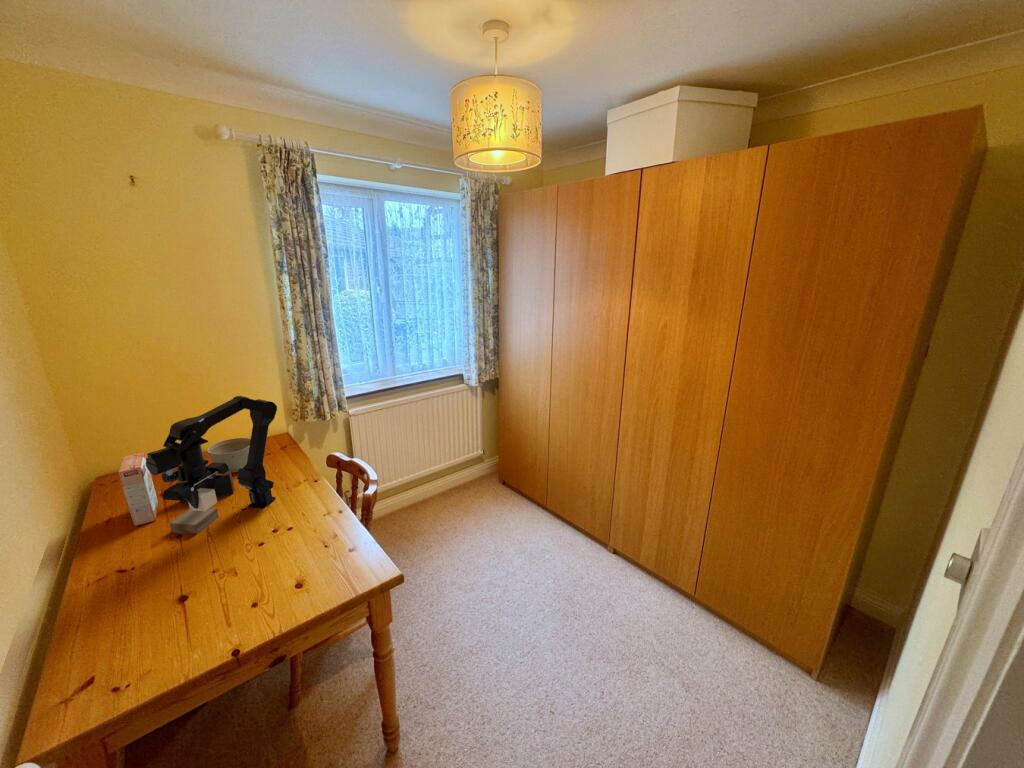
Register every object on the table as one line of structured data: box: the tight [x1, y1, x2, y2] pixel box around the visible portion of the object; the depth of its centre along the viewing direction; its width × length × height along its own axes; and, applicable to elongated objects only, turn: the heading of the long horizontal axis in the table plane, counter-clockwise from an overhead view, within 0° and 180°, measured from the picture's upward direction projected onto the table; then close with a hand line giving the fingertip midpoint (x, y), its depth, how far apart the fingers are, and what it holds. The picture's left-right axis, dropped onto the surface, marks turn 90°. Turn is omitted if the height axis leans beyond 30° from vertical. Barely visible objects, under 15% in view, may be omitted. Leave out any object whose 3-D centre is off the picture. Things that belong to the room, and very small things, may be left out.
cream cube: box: [187, 488, 218, 511], centre depth 128 cm, size 5×5×5 cm
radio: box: [175, 456, 236, 504], centre depth 149 cm, size 19×3×15 cm, turn 114°
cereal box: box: [118, 452, 159, 527], centre depth 138 cm, size 14×6×21 cm, turn 37°
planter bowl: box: [206, 437, 251, 474], centre depth 171 cm, size 16×16×11 cm
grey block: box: [169, 507, 220, 535], centre depth 135 cm, size 9×9×4 cm
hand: (203, 503), depth 129 cm, fingers closed on cream cube, 5 cm apart
